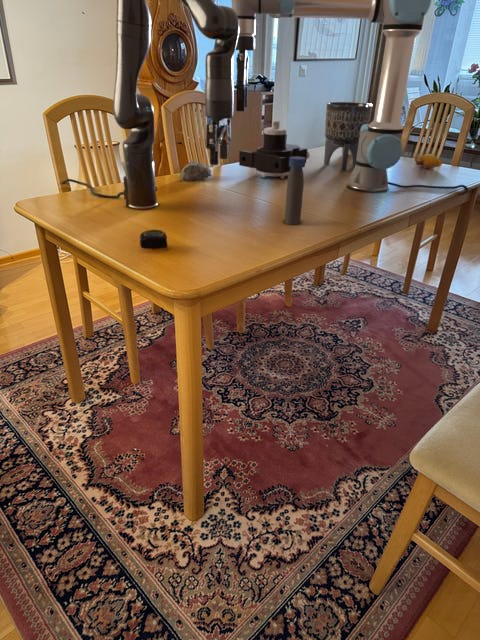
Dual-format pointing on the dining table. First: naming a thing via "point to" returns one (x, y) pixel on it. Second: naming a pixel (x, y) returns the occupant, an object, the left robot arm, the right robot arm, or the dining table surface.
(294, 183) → the bottle
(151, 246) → the tape measure
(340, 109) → the planter
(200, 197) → the dining table surface
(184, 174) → the rock
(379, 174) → the right robot arm
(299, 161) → the cap
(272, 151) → the mechanical component
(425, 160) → the toy
